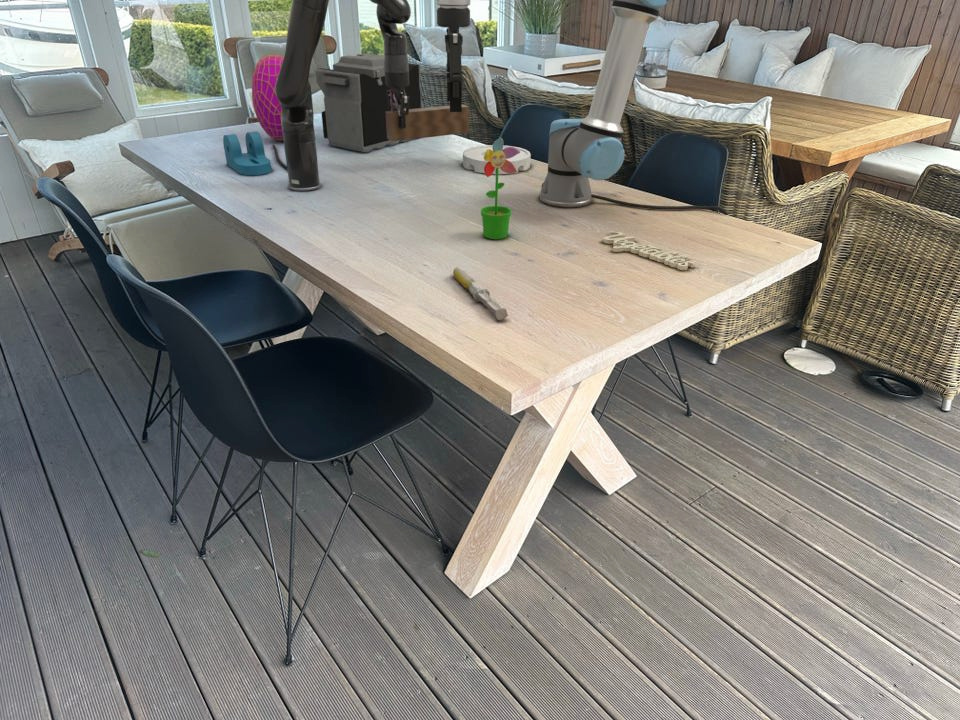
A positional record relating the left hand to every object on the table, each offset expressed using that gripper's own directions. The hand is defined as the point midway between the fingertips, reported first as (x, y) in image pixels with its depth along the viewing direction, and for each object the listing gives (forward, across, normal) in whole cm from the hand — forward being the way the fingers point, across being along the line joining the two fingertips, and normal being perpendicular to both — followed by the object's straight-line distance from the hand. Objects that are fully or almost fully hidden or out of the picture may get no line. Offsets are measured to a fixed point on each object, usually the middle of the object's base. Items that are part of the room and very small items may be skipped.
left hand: (399, 126), depth 221 cm
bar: (+4, 0, +10) cm, 11 cm away
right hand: (-16, +59, -9) cm, 62 cm away
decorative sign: (+15, +94, +25) cm, 98 cm away
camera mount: (+14, -24, -44) cm, 52 cm away
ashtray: (+15, +7, +32) cm, 36 cm away
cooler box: (+14, -44, +6) cm, 46 cm away
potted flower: (+15, +67, -1) cm, 69 cm away
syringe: (+15, +98, -22) cm, 102 cm away
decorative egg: (+14, -60, -24) cm, 67 cm away
